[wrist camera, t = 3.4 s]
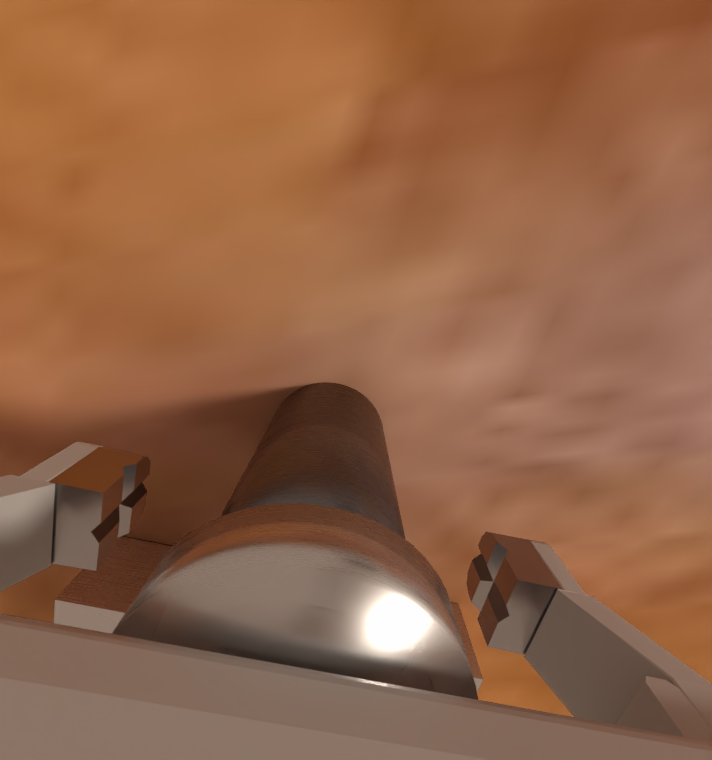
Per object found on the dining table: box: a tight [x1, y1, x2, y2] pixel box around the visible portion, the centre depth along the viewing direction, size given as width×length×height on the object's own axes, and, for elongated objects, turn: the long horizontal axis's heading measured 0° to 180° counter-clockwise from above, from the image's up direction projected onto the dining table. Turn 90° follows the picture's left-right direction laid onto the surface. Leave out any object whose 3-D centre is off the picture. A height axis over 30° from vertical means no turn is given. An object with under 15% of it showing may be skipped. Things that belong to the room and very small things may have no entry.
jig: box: [54, 536, 483, 691], centre depth 16 cm, size 16×14×3 cm
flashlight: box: [112, 383, 478, 700], centre depth 9 cm, size 5×5×9 cm
